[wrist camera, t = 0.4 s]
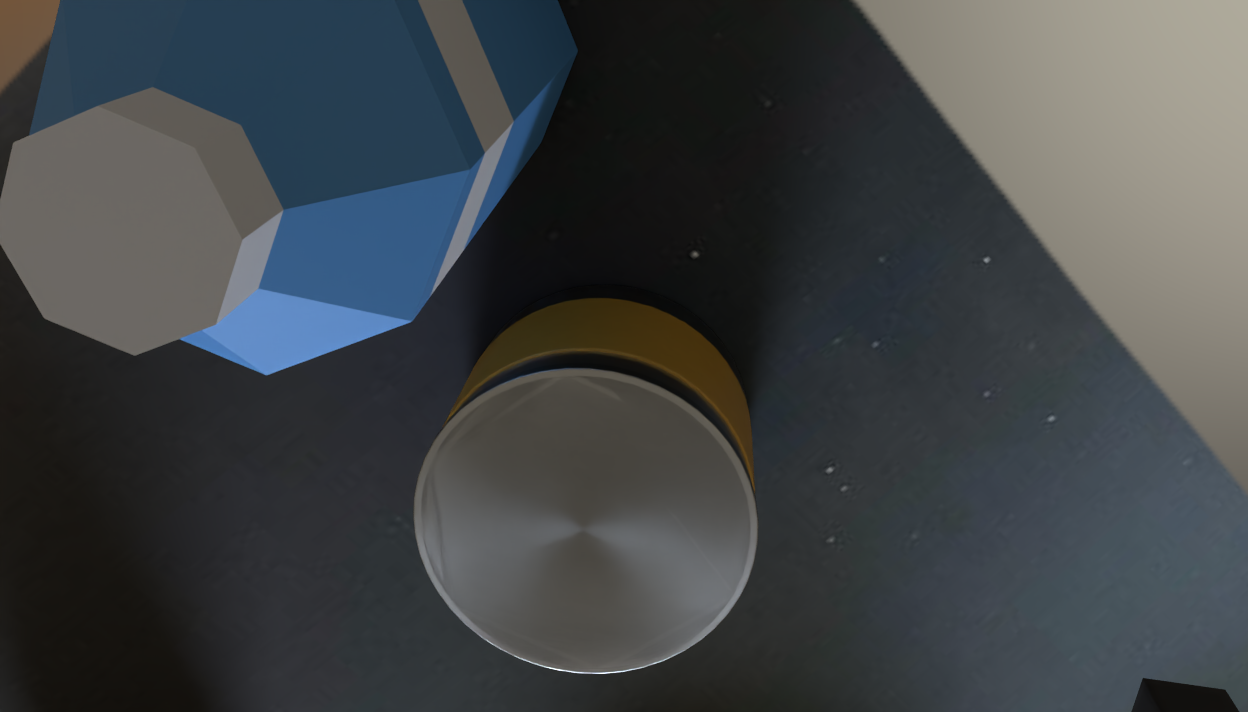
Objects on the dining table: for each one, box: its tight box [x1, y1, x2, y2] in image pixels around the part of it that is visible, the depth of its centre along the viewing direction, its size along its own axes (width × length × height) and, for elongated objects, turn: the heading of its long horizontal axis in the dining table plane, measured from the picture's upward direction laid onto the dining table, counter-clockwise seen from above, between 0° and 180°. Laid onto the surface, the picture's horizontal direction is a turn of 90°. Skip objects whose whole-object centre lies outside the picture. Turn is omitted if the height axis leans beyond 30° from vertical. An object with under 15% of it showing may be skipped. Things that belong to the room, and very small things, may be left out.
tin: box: [413, 285, 758, 674], centre depth 43 cm, size 11×11×9 cm
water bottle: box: [0, 0, 578, 375], centre depth 31 cm, size 9×9×25 cm
